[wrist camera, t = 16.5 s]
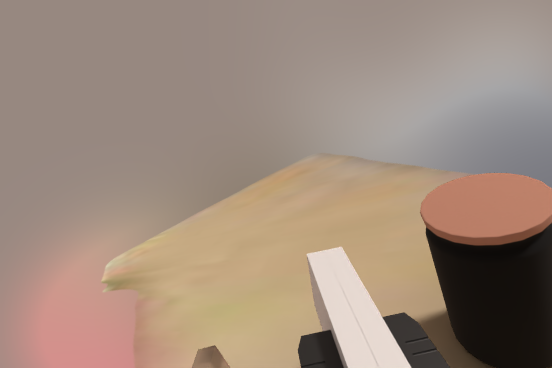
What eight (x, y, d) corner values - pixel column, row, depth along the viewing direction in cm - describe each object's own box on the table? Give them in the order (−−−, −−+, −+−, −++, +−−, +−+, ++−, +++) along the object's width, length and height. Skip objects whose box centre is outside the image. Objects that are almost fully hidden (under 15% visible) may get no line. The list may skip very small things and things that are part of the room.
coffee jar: (586, 322, 33) (578, 176, 27) (547, 403, 29) (526, 252, 22) (478, 284, 42) (452, 169, 36) (435, 342, 38) (398, 222, 31)
